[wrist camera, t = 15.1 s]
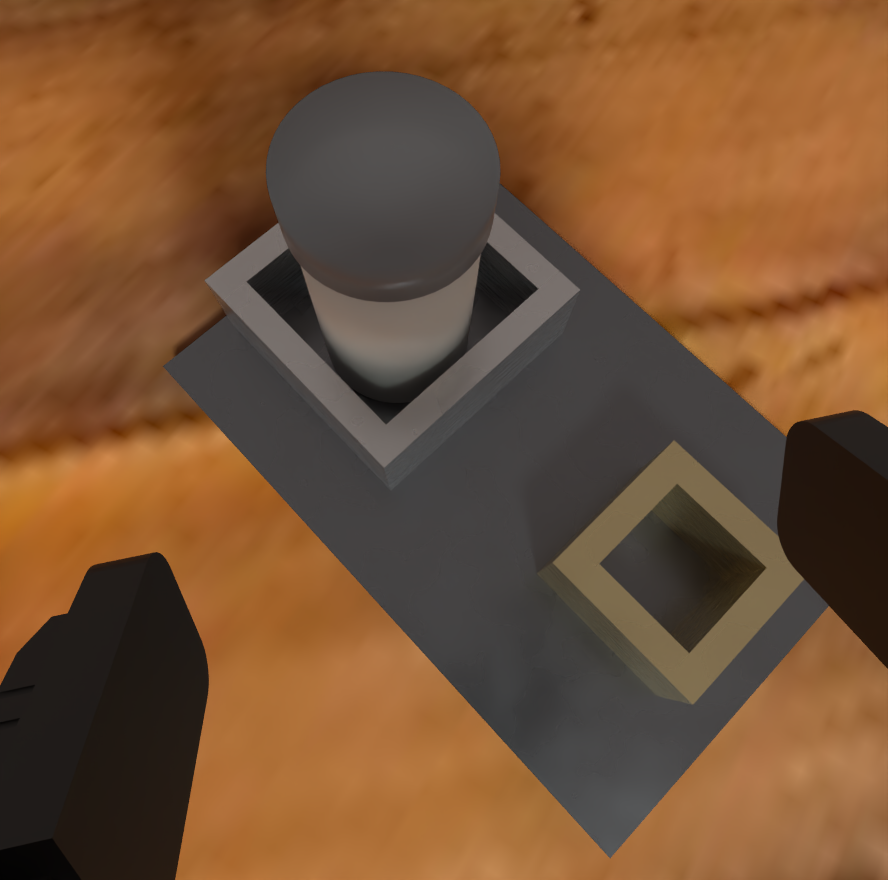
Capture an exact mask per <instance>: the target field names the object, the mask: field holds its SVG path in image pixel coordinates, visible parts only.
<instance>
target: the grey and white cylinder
mask: <svg viewBox="0 0 888 880" xmlns="http://www.w3.org/2000/svg"><path fill="white" fill-rule="evenodd" d="M266 179H267V187H268V191H269V195H270V199H271V202H272V205H273V208H274V211H275V214H276V216H277V219H278V222H279V225H280V228H281V231H282V234H283V237H284V239H285V242H286V244H287V246H288V248H289V250H290V251H291V253H292V255H293V256H294V258H295V259H296V260H297V262H298V263H299V264H300V266H301V269H302V272H303V275H304V278H305V281H306V284H307V287H308V291H309V294H310V297H311V300H312V303H313V306H314V309H315V312H316V316H317V319H318V322H319V325H320V328H321V331H322V334H323V338H324V341H325V344H326V347H327V350H328V353H329V356H330V359H331V361H332V364H333V366H334V368H335V369H336V371H337V373H338V374H339V375H340V377H341V378H342V379H343V380H344V381H345V382H346V383H347V384H348V385H349V386H350V387H351V388H353V389H354V390H355V391H357V392H359V393H360V394H362V395H364V396H366V397H369V398H371V399H374V400H378V401H382V402H389V403H405V402H412V401H413V400H414V399H416V398H417V397H418V396H419V395H420V394H421V393H422V392H423V391H424V390H426V389H427V388H428V387H429V386H430V385H431V384H432V383H433V382H435V381H436V380H437V379H438V378H439V377H440V376H441V375H442V374H444V373H445V372H446V371H447V370H448V369H449V368H450V367H451V366H453V365H454V364H455V363H456V362H457V361H458V360H459V359H460V358H462V357H463V356H464V355H465V353H466V349H467V343H468V336H469V330H470V323H471V316H472V309H473V303H474V296H475V289H476V283H477V276H478V269H479V262H480V256H481V252H482V251H483V249H484V247H485V245H486V243H487V241H488V238H489V236H490V232H491V229H492V225H493V219H494V213H495V207H496V201H497V195H498V189H499V182H500V159H499V154H498V149H497V146H496V143H495V140H494V137H493V135H492V133H491V131H490V129H489V127H488V126H487V124H486V122H485V121H484V120H483V118H482V117H481V116H480V114H479V113H478V112H477V111H476V110H475V109H474V108H473V107H472V106H471V105H470V104H469V103H468V102H467V101H466V100H465V99H463V98H462V97H461V96H460V95H458V94H457V93H455V92H454V91H452V90H450V89H449V88H447V87H445V86H443V85H441V84H439V83H437V82H435V81H432V80H429V79H426V78H423V77H420V76H416V75H411V74H407V73H399V72H368V73H360V74H355V75H351V76H347V77H344V78H341V79H337V80H335V81H332V82H330V83H328V84H326V85H323V86H321V87H320V88H318V89H316V90H315V91H313V92H311V93H310V94H308V95H307V96H306V97H305V98H303V99H302V100H301V101H299V102H298V103H297V104H296V105H295V106H294V107H293V108H292V109H291V110H290V111H289V112H288V114H287V115H286V116H285V118H284V119H283V120H282V122H281V123H280V125H279V127H278V128H277V130H276V132H275V134H274V136H273V139H272V141H271V144H270V147H269V151H268V156H267V163H266Z"/></svg>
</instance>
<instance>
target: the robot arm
mask: <svg viewBox="0 0 888 880" xmlns="http://www.w3.org/2000/svg"><path fill="white" fill-rule="evenodd" d="M777 530H778V536H779V540H780V543H781V546H782V549H783V551H784V553H785V555H786V557H787V559H788V561H789V562H790V564H791V565H792V566H793V567H794V569H795V570H796V571H797V572H798V573H799V574H800V575H801V576H802V577H803V578H804V579H805V580H806V582H807V583H808V584H809V585H810V586H811V587H812V588H813V589H814V590H815V591H816V592H817V593H818V594H819V595H820V597H821V598H822V599H823V600H824V601H825V602H826V603H827V604H828V605H829V606H830V607H831V608H832V609H833V611H834V612H835V613H836V614H837V615H838V616H839V617H840V618H841V619H842V620H843V621H844V622H845V623H846V624H847V626H848V627H849V628H850V629H851V630H852V631H853V632H854V633H855V634H856V635H857V636H858V637H859V638H860V639H861V641H862V642H863V643H864V644H865V645H866V646H867V647H868V648H869V649H870V650H871V651H872V652H873V653H874V654H875V656H876V657H877V658H878V659H879V660H880V661H881V662H882V663H883V664H884V665H885V666H886V667H887V668H888V427H887V426H885V425H884V424H882V423H881V422H879V421H877V420H876V419H874V418H873V417H871V416H870V415H868V414H866V413H864V412H862V411H856V410H853V411H848V412H844V413H839V414H834V415H829V416H824V417H819V418H814V419H810V420H805V421H800V422H797V423H795V424H794V425H793V426H792V427H791V428H790V430H789V432H788V435H787V439H786V445H785V454H784V463H783V471H782V480H781V489H780V498H779V506H778V515H777ZM208 687H209V675H208V664H207V658H206V654H205V649H204V646H203V643H202V640H201V638H200V636H199V633H198V631H197V629H196V626H195V624H194V622H193V619H192V617H191V615H190V612H189V610H188V608H187V605H186V603H185V601H184V598H183V596H182V594H181V591H180V589H179V587H178V584H177V582H176V580H175V577H174V575H173V573H172V570H171V568H170V566H169V564H168V562H167V560H166V559H165V558H164V556H163V555H161V554H160V553H158V552H155V553H150V554H145V555H140V556H135V557H130V558H125V559H121V560H116V561H111V562H106V563H101V564H96V565H93V566H91V567H90V568H89V570H88V571H87V573H86V575H85V577H84V579H83V581H82V583H81V586H80V588H79V590H78V592H77V594H76V596H75V599H74V601H73V603H72V605H71V607H70V610H69V612H68V613H67V614H63V615H58V616H53V617H51V618H50V619H49V620H48V621H47V622H46V623H45V624H44V625H43V626H42V627H41V629H40V630H39V631H38V632H37V633H36V634H35V635H34V636H33V637H32V638H31V639H30V640H29V641H28V642H27V643H26V644H25V645H24V646H23V647H22V648H21V649H20V651H19V652H18V653H17V654H16V656H15V658H14V660H13V662H12V664H11V666H10V668H9V669H8V671H7V673H6V675H5V677H4V679H3V681H2V683H1V685H0V880H175V877H176V871H177V866H178V860H179V854H180V849H181V843H182V837H183V832H184V826H185V820H186V815H187V809H188V804H189V798H190V792H191V787H192V781H193V775H194V770H195V764H196V758H197V753H198V747H199V741H200V736H201V730H202V725H203V719H204V713H205V708H206V702H207V696H208Z"/></svg>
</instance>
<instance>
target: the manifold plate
mask: <svg viewBox="0 0 888 880" xmlns="http://www.w3.org/2000/svg"><path fill="white" fill-rule="evenodd" d="M205 282H206V284H207V285H208V287H209V288H210V290H211V291H212V293H213V295H214V296H215V298H216V299H217V301H218V302H219V304H220V305H221V307H222V309H223V310H224V312H225V313H226V315H227V316H225V317H224V318H223V319H222V320H220V321H219V322H218V323H217V324H215V325H214V326H213V327H212V328H210V329H209V330H208V331H207V332H205V333H204V334H203V335H202V336H200V337H199V338H198V339H197V340H195V341H194V342H193V343H192V344H190V345H189V346H188V347H187V348H185V349H184V350H183V351H182V352H180V353H179V354H178V355H177V356H175V357H174V358H173V359H172V360H170V361H169V362H168V363H167V364H165V365H164V366H163V367H164V368H165V369H166V370H167V371H168V372H169V373H170V375H171V376H172V377H173V378H174V379H175V380H176V381H177V382H178V383H179V385H180V386H181V387H182V388H183V389H184V390H185V391H186V392H187V393H188V394H189V396H190V397H191V398H192V399H193V400H194V401H195V402H196V403H197V404H198V405H199V407H200V408H201V409H202V410H203V411H204V412H205V413H206V414H207V415H208V416H209V418H210V419H211V420H212V421H213V422H214V423H215V424H216V425H217V426H218V427H219V429H220V430H221V431H222V432H223V433H224V434H225V435H226V436H227V437H228V438H229V440H230V441H231V442H232V443H233V444H234V445H235V446H236V447H237V448H238V449H239V451H240V452H241V453H242V454H243V455H244V456H245V457H246V458H247V459H248V460H249V462H250V463H251V464H252V465H253V466H254V467H255V468H256V469H257V470H258V471H259V473H260V474H261V475H262V476H263V477H264V478H265V479H266V480H267V481H268V482H269V484H270V485H271V486H272V487H273V488H274V489H275V490H276V491H277V492H278V493H279V495H280V496H281V497H282V498H283V499H284V500H285V501H286V502H287V503H288V504H289V506H290V507H291V508H292V509H293V510H294V511H295V512H296V513H297V514H298V515H299V517H300V518H301V519H302V520H303V521H304V522H305V523H306V524H307V525H308V526H309V528H310V529H311V530H312V531H313V532H314V533H315V534H316V535H317V536H318V537H319V539H320V540H321V541H322V542H323V543H324V544H325V545H326V546H327V547H328V548H329V550H330V551H331V552H332V553H333V554H334V555H335V556H336V557H337V558H338V559H339V561H340V562H341V563H342V564H343V565H344V566H345V567H346V568H347V569H348V570H349V572H350V573H351V574H352V575H353V576H354V577H355V578H356V579H357V580H358V581H359V583H360V584H361V585H362V586H363V587H364V588H365V589H366V590H367V591H368V592H369V594H370V595H371V596H372V597H373V598H374V599H375V600H376V601H377V602H378V603H379V605H380V606H381V607H382V608H383V609H384V610H385V611H386V612H387V613H388V614H389V616H390V617H391V618H392V619H393V620H394V621H395V622H396V623H397V624H398V625H399V627H400V628H401V629H402V630H403V631H404V632H405V633H406V634H407V635H408V636H409V638H410V639H411V640H412V641H413V642H414V643H415V644H416V645H417V646H418V647H419V649H420V650H421V651H422V652H423V653H424V654H425V655H426V656H427V657H428V659H429V660H430V661H431V662H432V663H433V664H434V665H435V666H436V667H437V668H438V670H439V671H440V672H441V673H442V674H443V675H444V676H445V677H446V678H447V679H448V681H449V682H450V683H451V684H452V685H453V686H454V687H455V688H456V689H457V690H458V692H459V693H460V694H461V695H462V696H463V697H464V698H465V699H466V700H467V701H468V703H469V704H470V705H471V706H472V707H473V708H474V709H475V710H476V711H477V712H478V714H479V715H480V716H481V717H482V718H483V719H484V720H485V721H486V722H487V723H488V725H489V726H490V727H491V728H492V729H493V730H494V731H495V732H496V733H497V734H498V736H499V737H500V738H501V739H502V740H503V741H504V742H505V743H506V744H507V745H508V747H509V748H510V749H511V750H512V751H513V752H514V753H515V754H516V755H517V756H518V758H519V759H520V760H521V761H522V762H523V763H524V764H525V765H526V766H527V767H528V769H529V770H530V771H531V772H532V773H533V774H534V775H535V776H536V777H537V778H538V780H539V781H540V782H541V783H542V784H543V785H544V786H545V787H546V788H547V789H548V791H549V792H550V793H551V794H552V795H553V796H554V797H555V798H556V799H557V800H558V802H559V803H560V804H561V805H562V806H563V807H564V808H565V809H566V810H567V811H568V813H569V814H570V815H571V816H572V817H573V818H574V819H575V820H576V821H577V822H578V824H579V825H580V826H581V827H582V828H583V829H584V830H585V831H586V832H587V833H588V835H589V836H590V837H591V838H592V839H593V840H594V841H595V842H596V843H597V844H598V846H599V847H600V848H601V849H602V850H603V851H604V852H605V853H606V854H607V855H608V857H609V858H611V857H612V855H613V854H614V853H615V852H616V851H617V850H618V849H619V847H620V846H621V845H622V844H623V843H624V842H625V840H626V839H627V838H628V837H629V836H630V835H631V834H632V832H633V831H634V830H635V829H636V828H637V827H638V825H639V824H640V823H641V822H642V821H643V820H644V819H645V817H646V816H647V815H648V814H649V813H650V812H651V810H652V809H653V808H654V807H655V806H656V805H657V804H658V802H659V801H660V800H661V799H662V798H663V797H664V795H665V794H666V793H667V792H668V791H669V790H670V789H671V787H672V786H673V785H674V784H675V783H676V782H677V780H678V779H679V778H680V777H681V776H682V775H683V774H684V772H685V771H686V770H687V769H688V768H689V767H690V765H691V764H692V763H693V762H694V761H695V760H696V758H697V757H698V756H699V755H700V754H701V753H702V752H703V750H704V749H705V748H706V747H707V746H708V745H709V743H710V742H711V741H712V740H713V739H714V738H715V737H716V735H717V734H718V733H719V732H720V731H721V730H722V728H723V727H724V726H725V725H726V724H727V723H728V722H729V720H730V719H731V718H732V717H733V716H734V715H735V713H736V712H737V711H738V710H739V709H740V708H741V707H742V705H743V704H744V703H745V702H746V701H747V700H748V698H749V697H750V696H751V695H752V694H753V693H754V692H755V690H756V689H757V688H758V687H759V686H760V685H761V683H762V682H763V681H764V680H765V679H766V678H767V677H768V675H769V674H770V673H771V672H772V671H773V670H774V668H775V667H776V666H777V665H778V664H779V663H780V662H781V660H782V659H783V658H784V657H785V656H786V655H787V653H788V652H789V651H790V650H791V649H792V648H793V647H794V645H795V644H796V643H797V642H798V641H799V640H800V638H801V637H802V636H803V635H804V634H805V633H806V631H807V630H808V629H809V628H810V627H811V626H812V625H813V623H814V622H815V621H816V620H817V619H818V618H819V616H820V615H821V614H822V613H823V612H824V611H825V610H826V608H827V607H828V606H829V605H828V604H827V603H826V602H825V601H824V600H823V599H822V598H821V597H820V595H819V594H818V593H817V592H816V591H815V590H814V589H813V588H812V587H811V586H810V585H809V584H808V583H807V582H806V580H805V579H804V578H803V577H802V576H801V575H800V574H799V573H798V572H797V571H796V570H795V569H794V567H793V566H792V565H791V564H790V562H789V561H788V559H787V557H786V555H785V553H784V551H783V549H782V546H781V543H780V540H779V536H778V530H777V515H778V506H779V498H780V489H781V480H782V471H783V463H784V454H785V445H786V439H787V437H785V436H784V435H783V434H782V433H781V432H780V431H779V430H778V429H776V428H775V427H774V426H773V425H772V424H771V423H770V422H769V421H767V420H766V419H765V418H764V417H763V416H762V415H761V414H760V413H758V412H757V411H756V410H755V409H754V408H753V407H752V406H750V405H749V404H748V403H747V402H746V401H745V400H744V399H743V398H741V397H740V396H739V395H738V394H737V393H736V392H735V391H734V390H732V389H731V388H730V387H729V386H728V385H727V384H726V383H725V382H723V381H722V380H721V379H720V378H719V377H718V376H717V375H715V374H714V373H713V372H712V371H711V370H710V369H709V368H708V367H706V366H705V365H704V364H703V363H702V362H701V361H700V360H699V359H697V358H696V357H695V356H694V355H693V354H692V353H691V352H690V351H688V350H687V349H686V348H685V347H684V346H683V345H682V344H681V343H679V342H678V341H677V340H676V339H675V338H674V337H673V336H671V335H670V334H669V333H668V332H667V331H666V330H665V329H664V328H662V327H661V326H660V325H659V324H658V323H657V322H656V321H655V320H653V319H652V318H651V317H650V316H649V315H648V314H647V313H646V312H644V311H643V310H642V309H641V308H640V307H639V306H638V305H636V304H635V303H634V302H633V301H632V300H631V299H630V298H629V297H627V296H626V295H625V294H624V293H623V292H622V291H621V290H620V289H618V288H617V287H616V286H615V285H614V284H613V283H612V282H611V281H609V280H608V279H607V278H606V277H605V276H604V275H603V274H601V273H600V272H599V271H598V270H597V269H596V268H595V267H594V266H592V265H591V264H590V263H589V262H588V261H587V260H586V259H585V258H583V257H582V256H581V255H580V254H579V253H578V252H577V251H576V250H574V249H573V248H572V247H571V246H570V245H569V244H568V243H566V242H565V241H564V240H563V239H562V238H561V237H560V236H559V235H557V234H556V233H555V232H554V231H553V230H552V229H551V228H550V227H548V226H547V225H546V224H545V223H544V222H543V221H542V220H541V219H539V218H538V217H537V216H536V215H535V214H534V213H533V212H532V211H530V210H529V209H528V208H527V207H526V206H525V205H524V204H522V203H521V202H520V201H519V200H518V199H517V198H516V197H515V196H513V195H512V194H511V193H510V192H509V191H508V190H507V189H506V188H504V187H503V186H502V185H501V184H500V183H499V189H498V195H497V201H496V207H495V213H494V219H493V225H492V229H491V232H490V236H489V238H488V241H487V243H486V245H485V247H484V249H483V251H482V252H481V256H480V262H479V269H478V276H477V283H476V289H475V296H474V303H473V309H472V316H471V323H470V330H469V336H468V343H467V349H466V353H465V355H464V356H463V357H462V358H460V359H459V360H458V361H457V362H456V363H455V364H454V365H453V366H451V367H450V368H449V369H448V370H447V371H446V372H445V373H444V374H442V375H441V376H440V377H439V378H438V379H437V380H436V381H435V382H433V383H432V384H431V385H430V386H429V387H428V388H427V389H426V390H424V391H423V392H422V393H421V394H420V395H419V396H418V397H417V398H416V399H414V400H413V401H412V402H405V403H389V402H382V401H378V400H374V399H371V398H369V397H366V396H364V395H362V394H360V393H359V392H357V391H355V390H354V389H353V388H351V387H350V386H349V385H348V384H347V383H346V382H345V381H344V380H343V379H342V378H341V377H340V375H339V374H338V373H337V371H336V369H335V368H334V366H333V364H332V361H331V359H330V356H329V353H328V350H327V347H326V344H325V341H324V338H323V334H322V331H321V328H320V325H319V322H318V319H317V316H316V312H315V309H314V306H313V303H312V300H311V297H310V294H309V291H308V287H307V284H306V281H305V278H304V275H303V272H302V269H301V266H300V264H299V263H298V262H297V260H296V259H295V258H294V256H293V255H292V253H291V251H290V250H289V248H288V246H287V244H286V242H285V239H284V237H283V234H282V231H281V228H280V225H279V223H277V224H276V225H275V226H274V227H272V228H271V229H270V230H269V231H267V232H266V233H265V234H263V235H262V236H261V237H260V238H258V239H257V240H256V241H254V242H253V243H252V244H251V245H249V246H248V247H247V248H246V249H244V250H243V251H242V252H240V253H239V254H238V255H237V256H235V257H234V258H233V259H231V260H230V261H229V262H228V263H226V264H225V265H224V266H222V267H221V268H220V269H219V270H217V271H216V272H215V273H214V274H212V275H211V276H210V277H208V278H207V279H206V280H205Z"/></svg>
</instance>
